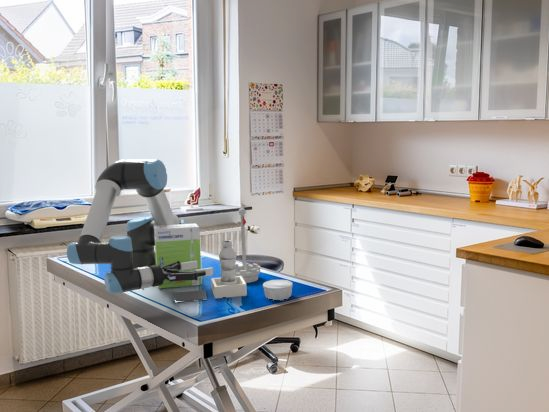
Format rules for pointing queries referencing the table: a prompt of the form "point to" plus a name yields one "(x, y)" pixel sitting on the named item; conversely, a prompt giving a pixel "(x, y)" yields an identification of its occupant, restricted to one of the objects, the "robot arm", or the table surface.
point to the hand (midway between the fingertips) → (204, 267)
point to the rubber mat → (189, 295)
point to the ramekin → (278, 289)
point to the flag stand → (245, 271)
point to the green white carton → (178, 249)
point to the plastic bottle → (227, 264)
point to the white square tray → (229, 288)
